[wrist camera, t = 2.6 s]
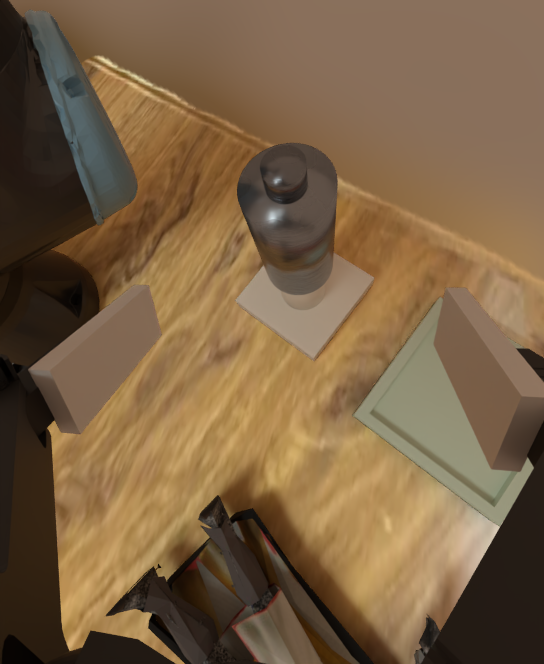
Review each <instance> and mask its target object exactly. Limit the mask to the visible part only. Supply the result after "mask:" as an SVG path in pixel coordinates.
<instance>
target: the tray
mask: <svg viewBox="0 0 544 664" xmlns="http://www.w3.org/2000/svg"><path fill="white" fill-rule="evenodd" d="M442 302H443V298H441V297H439V298H438V300H437V301H436V302H435V303H434V304H433V305H432V307H431V308H430V310H429V311H428V312H427V314H426V315H425V316H424V318H423V319H422V321H421V322H420V323H419V325H418V326H417V327H416V329H415V330H414V331H413V333H412V334H411V336H410V337H409V338H408V340H407V341H406V342H405V344H404V345H403V347H402V348H401V349H400V351H399V352H398V353H397V355H396V356H395V357H394V359H393V360H392V362H391V363H390V364H389V366H388V367H387V368H386V370H385V371H384V373H383V374H382V375H381V377H380V378H379V379H378V381H377V382H376V383H375V385H374V386H373V388H372V389H371V390H370V392H369V393H368V394H367V396H366V397H365V399H364V400H363V401H362V403H361V404H360V405H359V407H358V408H357V409H356V411H355V412H354V414H353V415H352V416H354V417H355V418H356V419H358V420H359V421H360V422H362V423H363V424H364V425H365V426H367V427H368V428H369V429H371V430H372V431H373V432H375V433H376V434H377V435H379V436H380V437H381V438H382V439H384V440H385V441H386V442H388V443H389V444H390V445H392V446H393V447H394V448H396V449H397V450H398V451H400V452H401V453H402V454H403V455H405V456H406V457H407V458H409V459H410V460H411V461H413V462H414V463H415V464H417V465H418V466H419V467H421V468H422V469H423V470H424V471H426V472H427V473H428V474H430V475H431V476H432V477H434V478H435V479H436V480H438V481H439V482H440V483H441V484H443V485H444V486H445V487H447V488H448V489H449V490H451V491H452V492H453V493H455V494H456V495H457V496H459V497H460V498H461V499H462V500H464V501H465V502H466V503H468V504H469V505H470V506H472V507H473V508H474V509H476V510H477V511H478V512H480V513H481V514H482V515H483V516H485V517H486V518H487V519H489V520H490V521H492V522H493V523H495V524H496V525H498V526H500V525H501V524H502V522H503V521H504V519H505V518H506V516H507V514H508V512H509V511H510V509H511V507H512V505H513V504H514V502H515V500H516V498H517V497H518V495H519V493H520V491H521V490H522V488H523V486H524V484H525V483H526V481H527V479H528V477H529V476H530V474H531V472H532V470H533V468H534V467H533V466H532V464H531V462H530V460H529V459H528V458H527V460H526V462H525V464H524V466H523V468H522V470H521V472H515V471H503V470H492V469H491V468H490V466H489V464H488V462H487V460H486V457H485V455H484V453H483V451H482V449H481V447H480V444H479V442H478V440H477V438H476V436H475V433H474V431H473V429H472V427H471V425H470V423H469V420H468V418H467V416H466V414H465V412H464V410H463V407H462V405H461V403H460V401H459V399H458V397H457V394H456V392H455V390H454V388H453V386H452V384H451V381H450V379H449V377H448V375H447V373H446V370H445V368H444V366H443V364H442V362H441V360H440V357H439V355H438V353H437V351H436V349H435V347H434V344H433V343H434V338H435V334H436V329H437V325H438V320H439V316H440V311H441V307H442ZM508 340H509V341H510V342H511V343H512V344H513V346H514V347H515V348H524V347H522V346H521V345H519V344H517V343H516V342H514V341H512V340H511V339H509V338H508ZM524 349H526V348H524Z"/></svg>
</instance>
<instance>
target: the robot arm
mask: <svg viewBox="0 0 544 664" xmlns="http://www.w3.org/2000/svg"><path fill="white" fill-rule="evenodd" d="M136 193H137V179H136V176H135V173H134V170H133V168H132V165H131V163H130V161H129V159H128V156H127V154H126V152H125V150H124V148H123V146H122V144H121V141H120V139H119V137H118V135H117V133H116V131H115V129H114V127H113V125H112V123H111V121H110V119H109V117H108V115H107V113H106V111H105V109H104V107H103V105H102V103H101V101H100V100H99V98H98V96H97V94H96V92H95V90H94V88H93V86H92V84H91V82H90V80H89V78H88V76H87V75H86V73H85V71H84V69H83V67H82V65H81V64H80V62H79V60H78V58H77V56H76V54H75V52H74V51H73V49H72V47H71V46H70V44H69V42H68V40H67V39H66V37H65V36H64V34H63V33H62V31H61V30H60V28H59V26H58V24H57V22H56V20H55V19H54V18H53V16H51V14H49V13H48V12H46V11H36V12H35V11H33V10H28V11H27V12H26V13H25V17H22V16H21V15H20V14H19V13H18V12H17V11H16V10H15V8H14V7H13V6H12V4H11V3H10V2H9V0H0V664H175V663H174V662H172V661H171V660H169V659H167V658H166V657H164V656H163V655H161V654H160V653H158V652H157V651H155V650H154V649H152V648H151V647H149V646H147V645H146V644H144V643H143V642H141V641H140V640H138V639H133V638H128V637H123V636H117V635H112V634H107V633H101V632H96V631H90V633H89V635H88V637H87V639H86V641H85V643H84V645H83V648H79V649H76V650H73V651H70V652H69V649H68V646H67V644H66V641H65V638H64V635H63V630H62V623H61V605H60V587H59V569H58V552H57V534H56V516H55V498H54V480H53V462H52V444H51V434H50V432H49V430H48V429H47V427H48V426H49V425H50V424H51V423H52V422H53V421H54V420H55V422H56V424H57V426H58V428H59V429H60V431H61V432H63V433H74V434H81V433H82V432H83V430H84V429H85V428H86V427H87V426H88V424H89V423H90V422H91V421H92V419H93V418H94V417H95V416H96V415H97V413H98V412H99V411H100V410H101V408H102V407H103V406H104V405H105V404H106V402H107V401H108V400H109V399H110V398H111V396H112V395H113V394H114V393H115V391H116V390H117V389H118V388H119V387H120V385H121V384H122V383H123V382H124V380H125V379H126V378H127V377H128V376H129V374H130V373H131V372H132V371H133V369H134V368H135V367H136V366H137V365H138V363H139V362H140V361H141V360H142V358H143V357H144V356H145V355H146V354H147V352H148V351H149V350H150V349H151V347H152V346H153V345H154V344H155V343H156V341H157V340H158V339H159V338H160V336H161V335H162V334H161V330H160V326H159V323H158V319H157V315H156V311H155V307H154V303H153V300H152V296H151V292H150V288H149V285H133V286H132V287H131V288H129V289H128V290H127V291H126V292H124V293H123V294H122V295H121V296H119V297H118V298H117V299H116V300H114V301H113V302H112V303H111V304H109V305H108V306H107V307H106V308H104V309H103V310H102V311H101V312H99V297H98V291H97V287H96V285H95V282H94V280H93V278H92V277H91V275H90V274H89V272H88V271H87V270H86V269H85V268H84V267H83V266H81V265H80V264H78V263H77V262H75V261H74V260H72V259H70V258H69V257H67V256H66V255H64V254H61V253H59V252H56V251H53V250H50V249H52V248H54V247H56V246H58V245H59V244H61V243H63V242H65V241H67V240H69V239H70V238H72V237H74V236H76V235H78V234H79V233H81V232H83V231H85V230H87V229H88V228H90V227H92V226H94V225H96V224H97V225H98V226H99V225H102V224H103V223H104V219H106V218H108V217H109V216H111V215H112V214H114V213H116V212H117V211H119V210H120V209H122V208H124V207H125V206H127V205H128V204H130V203H131V202H132V201H133V199H134V198H135V196H136ZM98 312H99V313H98ZM433 344H434V347H435V349H436V351H437V353H438V355H439V357H440V360H441V362H442V364H443V366H444V368H445V370H446V373H447V375H448V377H449V379H450V381H451V384H452V386H453V388H454V390H455V392H456V394H457V397H458V399H459V401H460V403H461V405H462V407H463V410H464V412H465V414H466V416H467V418H468V420H469V423H470V425H471V427H472V429H473V431H474V433H475V436H476V438H477V440H478V442H479V444H480V447H481V449H482V451H483V453H484V455H485V457H486V460H487V462H488V464H489V466H490V468H491V469H492V470H503V471H515V472H521V470H522V468H523V466H524V464H525V462H526V460H527V458H528V459H529V460H530V462H531V464H532V466H533V467H534V468H533V470H532V472H531V474H530V476H529V477H528V479H527V481H526V483H525V484H524V486H523V488H522V490H521V491H520V493H519V495H518V497H517V498H516V500H515V502H514V504H513V505H512V507H511V509H510V511H509V512H508V514H507V516H506V518H505V519H504V521H503V523H502V525H501V526H500V528H499V530H498V532H497V533H496V535H495V537H494V539H493V540H492V542H491V544H490V546H489V547H488V549H487V551H486V553H485V554H484V556H483V558H482V560H481V561H480V563H479V565H478V567H477V568H476V570H475V572H474V574H473V575H472V577H471V579H470V581H469V583H468V584H467V586H466V588H465V590H464V591H463V593H462V595H461V597H460V598H459V600H458V602H457V604H456V605H455V607H454V609H453V611H452V612H451V614H450V616H449V618H448V619H447V621H446V623H445V625H444V626H443V628H442V630H441V632H440V633H439V635H438V637H437V638H436V640H435V642H434V643H433V645H432V646H431V647H430V649H429V651H428V652H427V654H426V655H425V657H424V659H423V661H422V662H421V664H544V358H543V357H541V356H540V355H538V354H536V353H535V352H533V351H531V350H530V349H524V348H515V347H514V346H513V344H512V343H511V342H510V341H509V340H508V338H507V337H506V336H505V335H504V333H503V332H502V331H501V330H500V329H499V327H498V326H497V325H496V324H495V323H494V321H493V320H492V319H491V318H490V316H489V315H488V314H487V313H486V312H485V310H484V309H483V308H482V307H481V305H480V304H479V303H478V302H477V301H476V299H475V298H474V297H473V296H472V295H471V293H470V292H469V291H468V290H467V288H446V289H445V293H444V298H443V302H442V307H441V311H440V316H439V320H438V325H437V329H436V334H435V338H434V343H433ZM221 664H266V663H261V662H256V661H250V660H239V661H233V662H227V663H221Z"/></svg>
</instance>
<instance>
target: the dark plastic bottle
mask: <svg viewBox="0 0 544 664" xmlns="http://www.w3.org/2000/svg"><path fill="white" fill-rule="evenodd" d="M337 182H338V181H337V174H336V170H335V168H334V166H333V164H332V163H331V161H330V160H329V158H328V157H327V156H326V155H325V154H324V153H322V152H321V151H319V150H318V149H316V148H314V147H312V146H309V145H305V144H299V143H286V144H280V145H276V146H273V147H270V148H268V149H266V150H264V151H262V152H260V153H259V154H257V155H256V156H255V157H254V158H253V159H252V160H251V161H250V162H249V163H248V164H247V165H246V167H245V168H244V170H243V171H242V173H241V176H240V178H239V182H238V187H237V196H238V201H239V204H240V207H241V209H242V212H243V214H244V217H245V219H246V222H247V224H248V227H249V229H250V232H251V234H252V237H253V239H254V242H255V245H256V247H257V250H258V252H259V255H260V257H261V260H262V262H263V265H264V267H265V270H266V272H267V275H268V277H269V279H270V281H271V282H272V284H273V285H274V286H275V287H276V288H278V289H279V290H281V291H282V292H285V293H287V294H291V295H304V294H309V293H311V292H314V291H316V290H317V289H319V288H320V287H321V286H323V285H324V284H325V282H326V281H327V280H328V278H329V276H330V274H331V272H332V268H333V254H334V236H335V219H336V201H337Z"/></svg>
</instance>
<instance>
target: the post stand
mask: <svg viewBox="0 0 544 664" xmlns="http://www.w3.org/2000/svg"><path fill="white" fill-rule="evenodd" d="M373 281H374V277H373V276H371V275H369V274H368V273H366V272H365V271H363V270H361V269H360V268H358V267H357V266H355V265H353V264H352V263H350V262H348V261H347V260H345V259H344V258H342V257H340V256H339V255H337V254H336V253H334V254H333V268H332V272H331V274H330V276H329V278H328V280H327V281H326V282H325V284H324V285H323V286H321V287H320V288H319V289H317V290H316V291H314V292H311V293H309V294H304V295H291V294H287V293H285V292H282V291H281V290H279V289H278V288H276V287H275V286H274V285H273V284H272V282H271V281H270V279H269V277H268V275H267V272H266V270H265V267H264V266H263V267H262V268H261V269H260V270H259V272H258V273H257V274H256V275H255V277H254V278H253V279H252V280H251V282H250V283H249V284H248V285H247V287H246V288H245V289H244V290H243V292H242V293H241V294H240V295H239V296H238V298H237V299H236V300H235V301H236V302H237V304H238V305H239V306H240V307H241V308H242V309H244V310H245V311H247V312H248V313H249V314H251V315H252V316H253V317H255V318H256V319H257V320H259V321H260V322H261V323H263V324H264V325H265V326H267V327H268V328H270V329H271V330H272V331H274V332H275V333H276V334H278V335H279V336H280V337H282V338H283V339H284V340H286V341H287V342H288V343H290V344H291V345H293V346H294V347H295V348H297V349H298V350H299V351H301V352H302V353H303V354H305V355H306V356H307V357H309V358H310V359H311V360H313V361H315V360H316V358H317V357H318V356H319V354H320V353H321V352H322V350H323V349H324V348H325V346H326V345H327V344H328V343H329V341H330V340H331V339H332V337H333V336H334V335H335V333H336V332H337V331H338V329H339V328H340V327H341V325H342V324H343V323H344V321H345V320H346V319H347V318H348V316H349V315H350V314H351V312H352V311H353V310H354V308H355V307H356V306H357V304H358V303H359V302H360V300H361V299H362V298H363V296H364V295H365V294H366V293H367V291H368V290H369V289H370V287H371V286H372V284H373Z"/></svg>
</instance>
